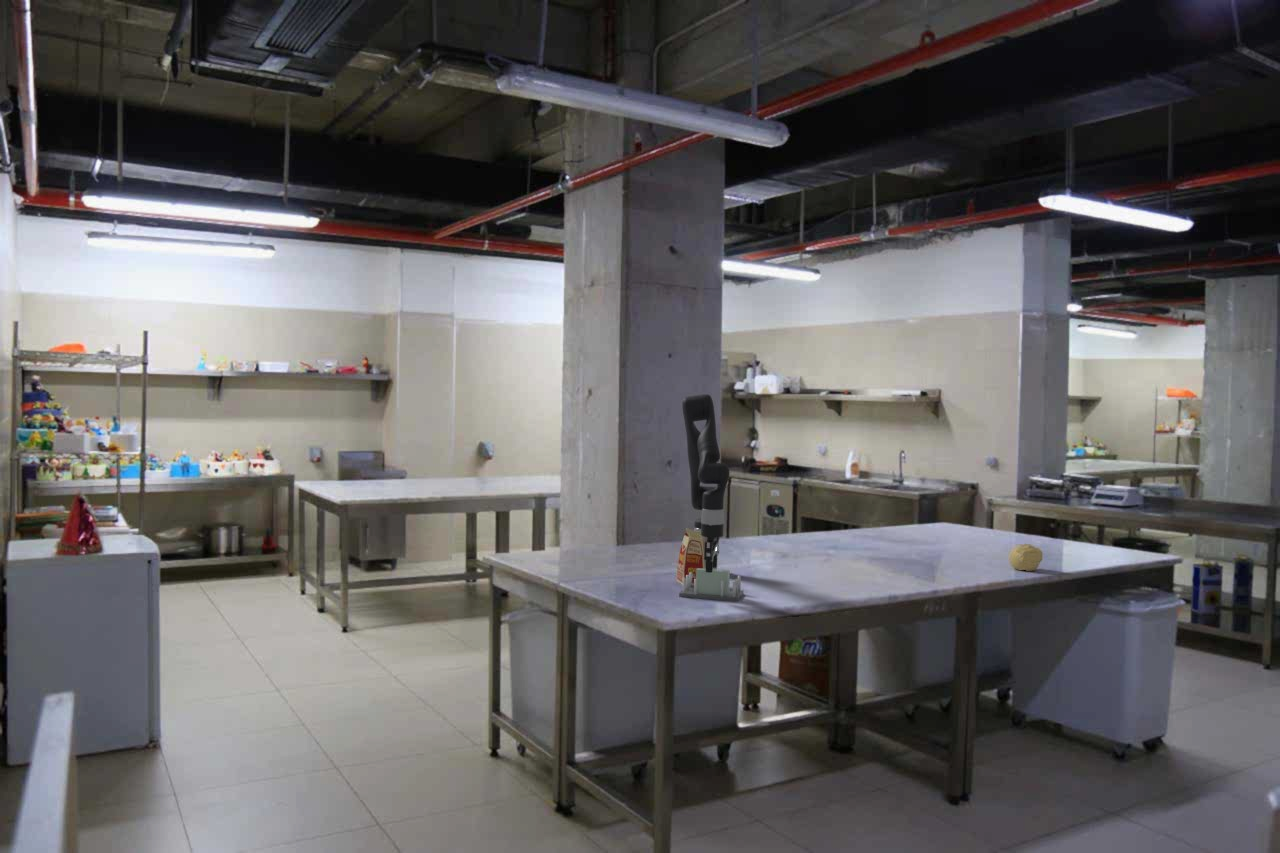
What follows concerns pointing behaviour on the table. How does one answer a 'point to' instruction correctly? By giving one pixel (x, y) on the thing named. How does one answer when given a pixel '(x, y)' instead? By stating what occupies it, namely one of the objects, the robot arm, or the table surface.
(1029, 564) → the yellow lumpy ball
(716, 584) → the sage green prism
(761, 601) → the table surface
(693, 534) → the milk carton
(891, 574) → the table surface
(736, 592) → the dish rack
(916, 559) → the table surface
